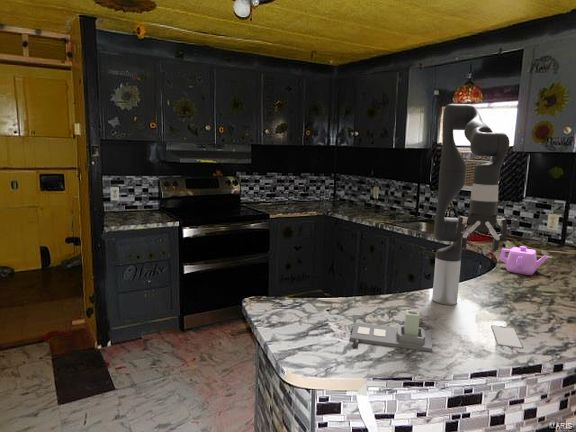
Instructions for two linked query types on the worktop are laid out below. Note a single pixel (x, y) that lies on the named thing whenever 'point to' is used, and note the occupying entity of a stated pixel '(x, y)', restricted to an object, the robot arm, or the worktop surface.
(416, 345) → the power strip
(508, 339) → the smartphone
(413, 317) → the block
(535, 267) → the teakettle
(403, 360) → the worktop surface
